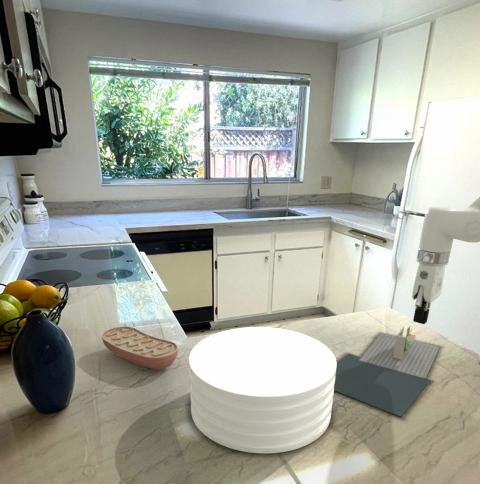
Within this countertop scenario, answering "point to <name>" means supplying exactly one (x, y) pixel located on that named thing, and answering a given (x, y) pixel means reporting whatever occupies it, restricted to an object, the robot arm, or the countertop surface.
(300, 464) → the countertop surface
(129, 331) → the mitochondrion model
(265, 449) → the plate stack
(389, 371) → the mat
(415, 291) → the robot arm
